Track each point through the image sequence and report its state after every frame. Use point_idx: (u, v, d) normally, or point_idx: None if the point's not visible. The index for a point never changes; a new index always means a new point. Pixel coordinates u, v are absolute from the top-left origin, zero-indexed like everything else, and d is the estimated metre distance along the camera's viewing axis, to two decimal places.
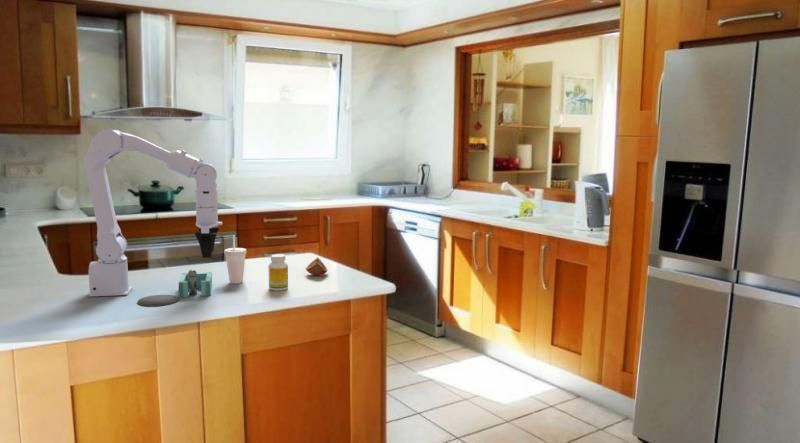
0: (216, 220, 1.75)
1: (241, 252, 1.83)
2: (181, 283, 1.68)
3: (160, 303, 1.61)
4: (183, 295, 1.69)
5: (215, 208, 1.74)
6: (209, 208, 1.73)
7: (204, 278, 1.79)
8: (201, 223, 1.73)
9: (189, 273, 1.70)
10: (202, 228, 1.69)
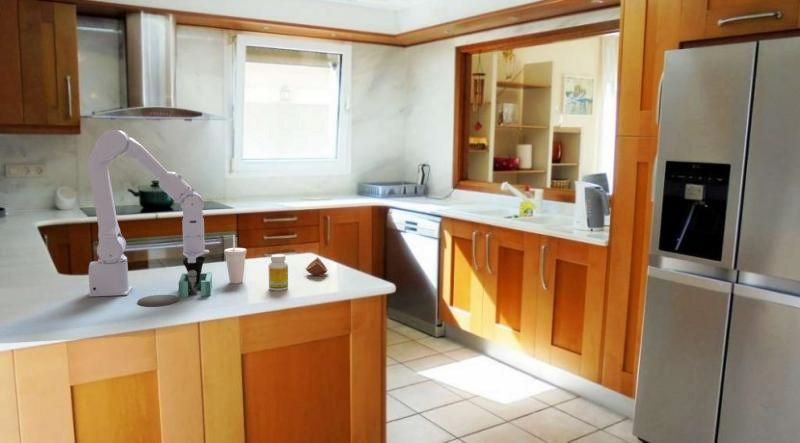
0: (203, 249, 1.77)
1: (241, 252, 1.83)
2: (181, 283, 1.68)
3: (160, 303, 1.61)
4: (183, 295, 1.69)
5: (202, 237, 1.76)
6: (196, 237, 1.74)
7: (204, 278, 1.79)
8: (188, 252, 1.75)
9: (189, 273, 1.70)
10: (189, 258, 1.70)
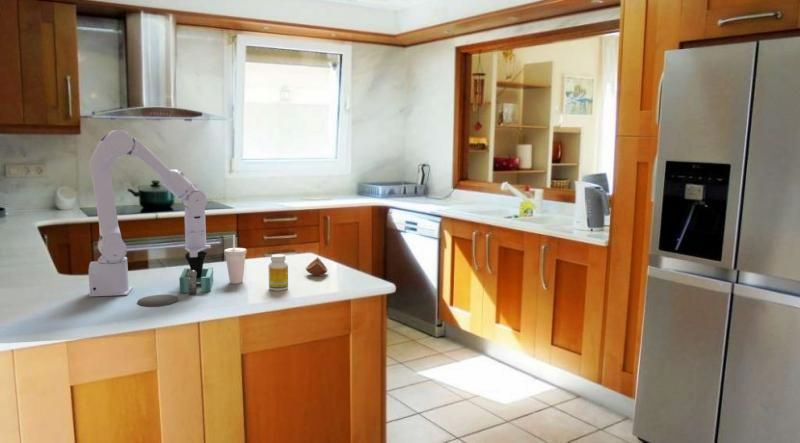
0: (204, 244, 1.82)
1: (241, 252, 1.83)
2: (182, 279, 1.73)
3: (160, 303, 1.61)
4: (184, 290, 1.73)
5: (203, 232, 1.81)
6: (197, 232, 1.79)
7: (205, 273, 1.83)
8: (190, 247, 1.80)
9: (189, 273, 1.70)
10: (191, 252, 1.75)
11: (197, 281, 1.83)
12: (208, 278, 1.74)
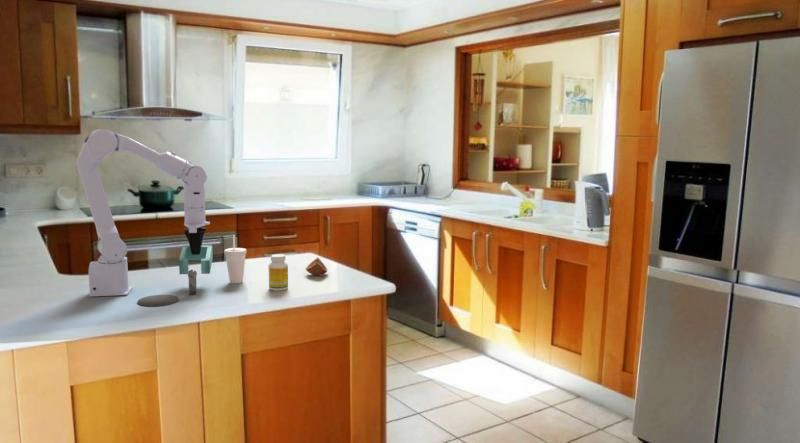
0: (204, 220, 1.81)
1: (241, 252, 1.83)
2: (181, 261, 1.72)
3: (160, 303, 1.61)
4: (183, 272, 1.73)
5: (203, 208, 1.80)
6: (197, 208, 1.79)
7: (205, 251, 1.83)
8: (189, 223, 1.79)
9: (189, 273, 1.70)
10: (190, 228, 1.75)
11: (196, 258, 1.83)
12: (208, 261, 1.74)
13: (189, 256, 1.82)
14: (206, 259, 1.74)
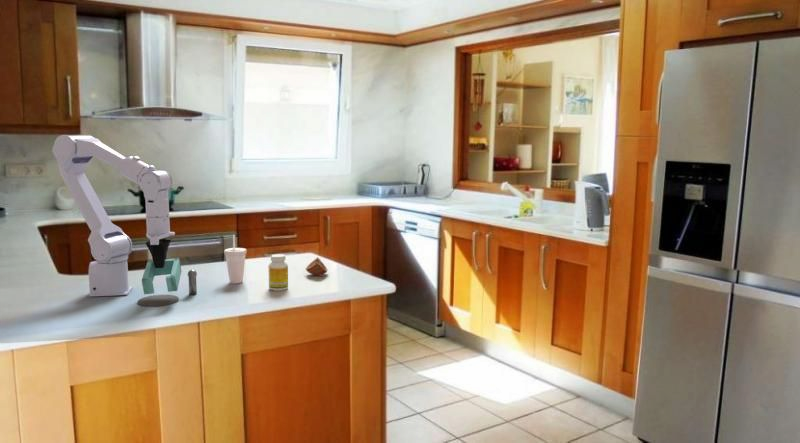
0: (168, 230, 1.66)
1: (241, 252, 1.83)
2: (144, 280, 1.58)
3: (160, 303, 1.61)
4: (148, 292, 1.59)
5: (166, 218, 1.65)
6: (159, 218, 1.64)
7: (172, 265, 1.68)
8: (151, 234, 1.64)
9: (189, 273, 1.70)
10: (151, 239, 1.60)
11: (164, 273, 1.69)
12: (173, 277, 1.59)
13: (155, 272, 1.68)
14: (171, 276, 1.60)
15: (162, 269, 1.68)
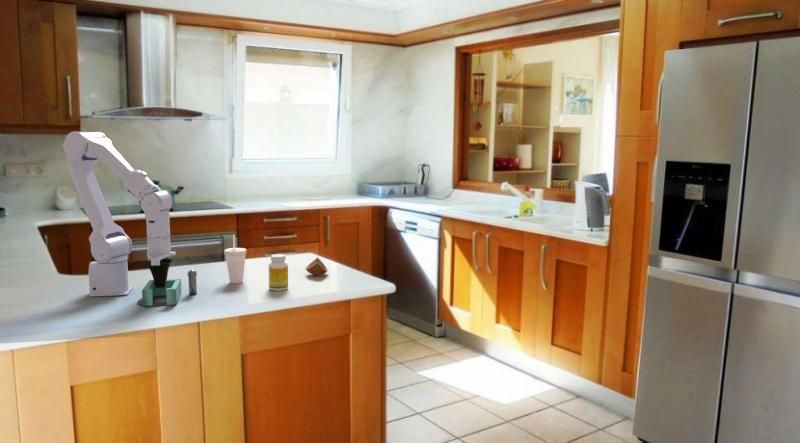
0: (168, 250, 1.67)
1: (241, 252, 1.83)
2: (145, 291, 1.58)
3: (160, 303, 1.61)
4: (147, 303, 1.59)
5: (167, 238, 1.66)
6: (160, 238, 1.65)
7: (173, 285, 1.69)
8: (152, 254, 1.65)
9: (189, 273, 1.70)
10: (152, 260, 1.61)
11: (164, 293, 1.69)
12: (174, 290, 1.60)
13: (155, 291, 1.68)
14: (172, 288, 1.60)
15: (163, 289, 1.69)
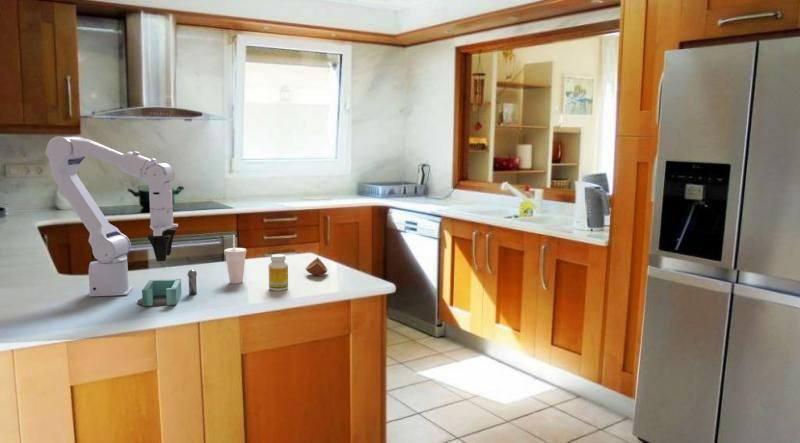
0: (171, 222, 1.69)
1: (241, 252, 1.83)
2: (145, 291, 1.58)
3: (160, 303, 1.61)
4: (147, 303, 1.59)
5: (170, 209, 1.68)
6: (163, 210, 1.66)
7: (173, 285, 1.69)
8: (155, 225, 1.67)
9: (189, 273, 1.70)
10: (154, 230, 1.62)
11: (164, 293, 1.69)
12: (174, 290, 1.60)
13: (155, 291, 1.68)
14: (172, 288, 1.60)
15: (163, 289, 1.69)
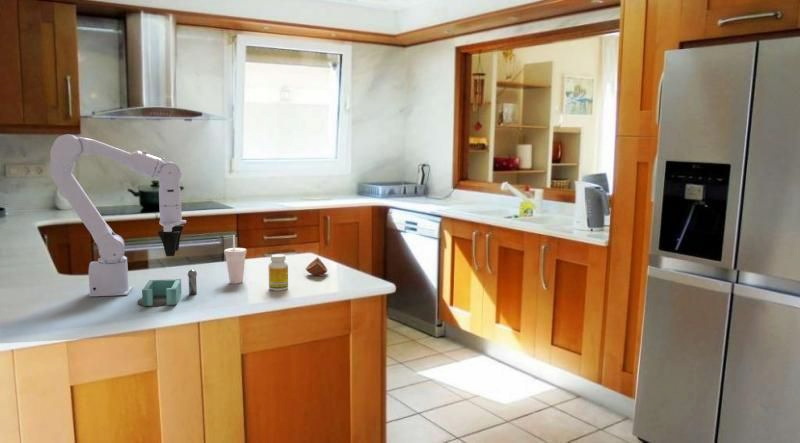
0: (180, 218, 1.75)
1: (241, 252, 1.83)
2: (145, 291, 1.58)
3: (160, 303, 1.61)
4: (147, 303, 1.59)
5: (178, 206, 1.74)
6: (172, 206, 1.73)
7: (173, 285, 1.69)
8: (164, 221, 1.73)
9: (189, 273, 1.70)
10: (164, 226, 1.69)
11: (164, 293, 1.69)
12: (174, 290, 1.60)
13: (155, 291, 1.68)
14: (172, 288, 1.60)
15: (163, 289, 1.69)
